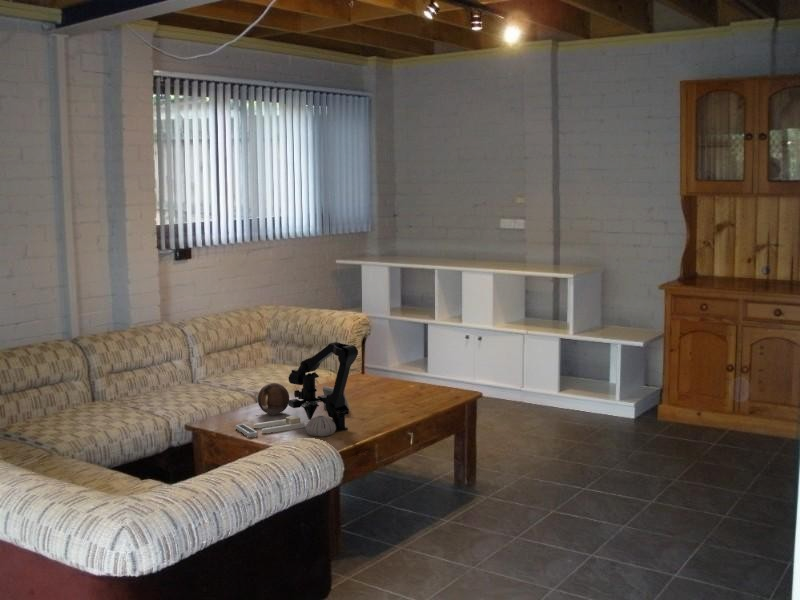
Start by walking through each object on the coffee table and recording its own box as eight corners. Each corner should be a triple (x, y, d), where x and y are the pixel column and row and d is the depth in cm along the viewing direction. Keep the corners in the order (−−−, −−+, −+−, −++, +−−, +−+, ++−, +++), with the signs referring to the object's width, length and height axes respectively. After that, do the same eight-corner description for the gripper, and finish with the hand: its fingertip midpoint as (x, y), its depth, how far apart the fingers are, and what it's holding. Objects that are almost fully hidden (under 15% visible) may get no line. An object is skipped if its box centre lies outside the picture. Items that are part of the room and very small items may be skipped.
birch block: (300, 426, 410) (300, 417, 409) (290, 428, 407) (290, 419, 407) (295, 424, 414) (295, 415, 413) (285, 425, 411) (285, 417, 411)
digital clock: (350, 412, 434) (350, 390, 433) (333, 414, 430) (333, 392, 429) (336, 404, 448) (336, 383, 447) (319, 407, 444) (319, 386, 443)
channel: (304, 427, 407) (304, 423, 407) (263, 434, 397) (262, 429, 397) (294, 422, 417) (293, 417, 416) (253, 428, 406) (253, 424, 406)
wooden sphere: (278, 408, 442) (277, 378, 440) (295, 414, 431) (295, 383, 429) (252, 413, 432) (251, 383, 430) (269, 419, 421) (268, 388, 419)
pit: (257, 436, 393) (257, 432, 393) (249, 438, 391) (249, 433, 391) (244, 428, 407) (244, 423, 406) (235, 429, 405) (235, 425, 404)
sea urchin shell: (341, 431, 401) (341, 413, 400) (328, 439, 389) (327, 421, 387) (314, 428, 406) (314, 411, 405) (300, 436, 393) (300, 418, 392)
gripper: (319, 380, 424) (320, 413, 426) (283, 385, 415) (283, 418, 417) (330, 385, 415) (330, 418, 417) (293, 390, 405) (294, 424, 407)
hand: (309, 419), depth 415 cm, fingers closed
